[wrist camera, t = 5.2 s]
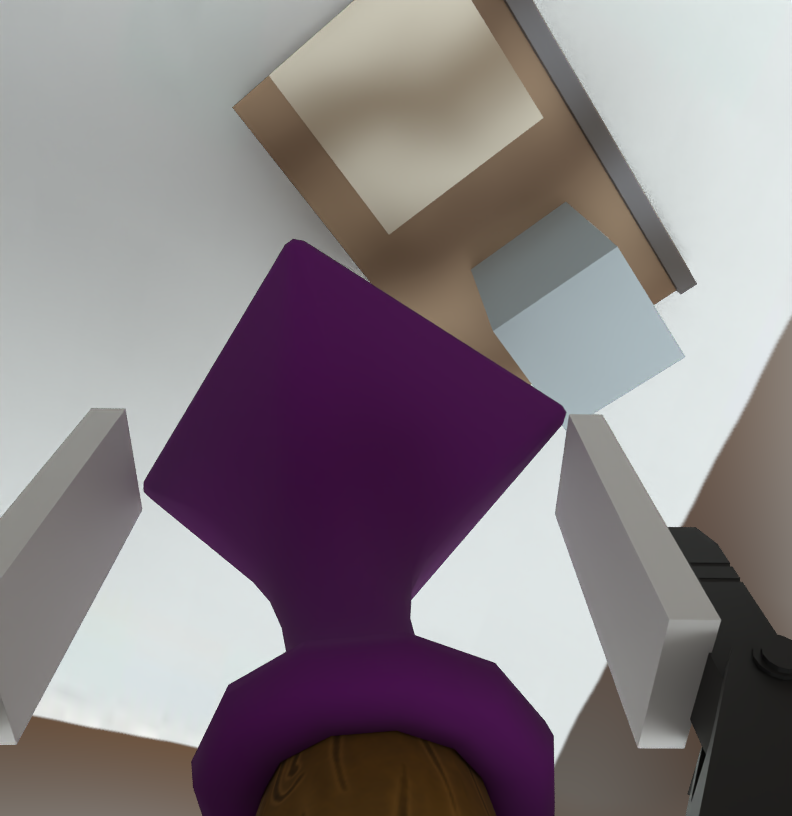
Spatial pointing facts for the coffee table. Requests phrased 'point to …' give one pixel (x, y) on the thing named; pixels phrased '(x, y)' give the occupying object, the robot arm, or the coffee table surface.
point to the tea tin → (573, 313)
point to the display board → (450, 151)
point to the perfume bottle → (355, 553)
